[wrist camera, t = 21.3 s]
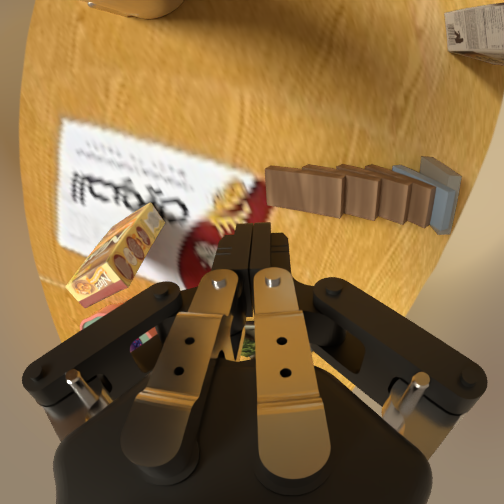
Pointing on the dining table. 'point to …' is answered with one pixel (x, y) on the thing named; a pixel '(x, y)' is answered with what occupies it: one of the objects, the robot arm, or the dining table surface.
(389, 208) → the walnut domino
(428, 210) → the walnut domino
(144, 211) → the candy box
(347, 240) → the dining table surface
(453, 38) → the coffee box
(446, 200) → the slate domino
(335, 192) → the walnut domino
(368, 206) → the walnut domino
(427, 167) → the block
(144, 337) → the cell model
